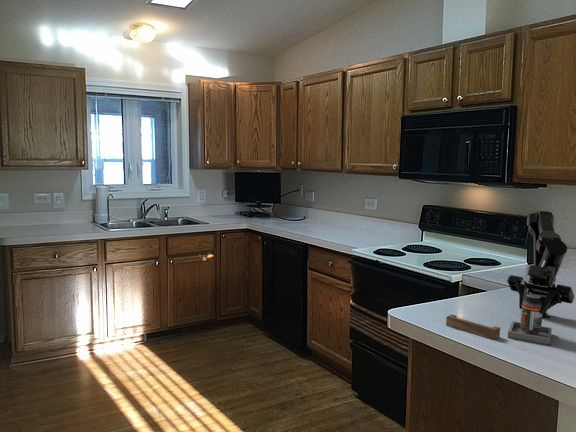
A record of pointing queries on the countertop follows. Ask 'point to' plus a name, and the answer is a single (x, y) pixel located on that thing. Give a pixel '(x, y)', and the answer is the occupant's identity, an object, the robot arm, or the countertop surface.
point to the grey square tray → (530, 334)
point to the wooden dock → (473, 327)
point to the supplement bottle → (531, 314)
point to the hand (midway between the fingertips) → (530, 310)
